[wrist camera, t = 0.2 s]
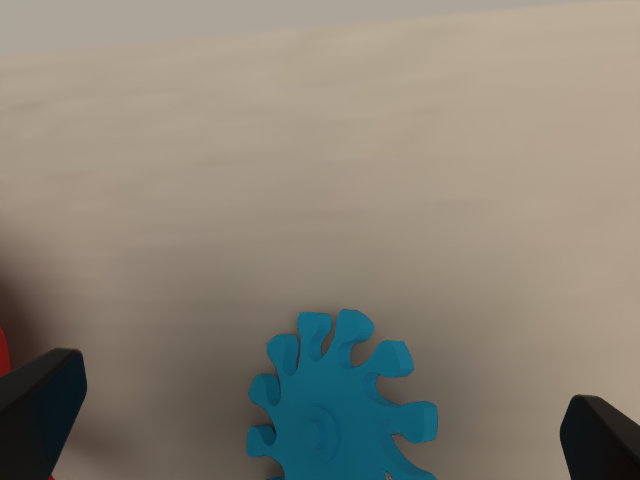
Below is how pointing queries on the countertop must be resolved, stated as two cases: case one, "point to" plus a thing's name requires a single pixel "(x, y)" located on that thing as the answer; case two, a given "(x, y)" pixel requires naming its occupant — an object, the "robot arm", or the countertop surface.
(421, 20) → the countertop surface
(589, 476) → the robot arm
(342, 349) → the gear
